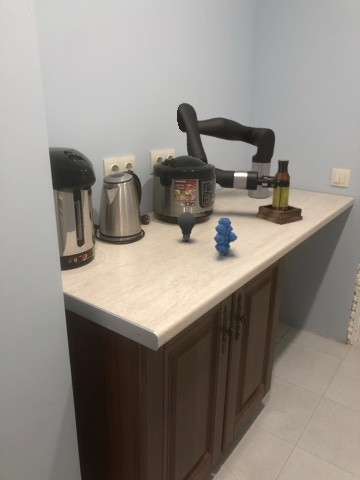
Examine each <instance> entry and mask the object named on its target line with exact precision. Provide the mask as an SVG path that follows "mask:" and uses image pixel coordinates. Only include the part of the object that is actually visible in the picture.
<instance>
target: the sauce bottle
mask: <svg viewBox="0 0 360 480" xmlns="http://www.w3.org/2000/svg"><path fill="white" fill-rule="evenodd" d="M289 163H290V160H289V159H283V158H281V159H278V160H277V167H278V168H277V171H276V173H275V175H274V180H279V181H289V187H278V188H272V203H271V204H272V208H273V209H274V210H278V211H285V210H287V209H288V205H289V202H290V201H289V198H290V185H291V184H290V183H291V177H290V174H289ZM274 185H275V183H274Z"/></svg>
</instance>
